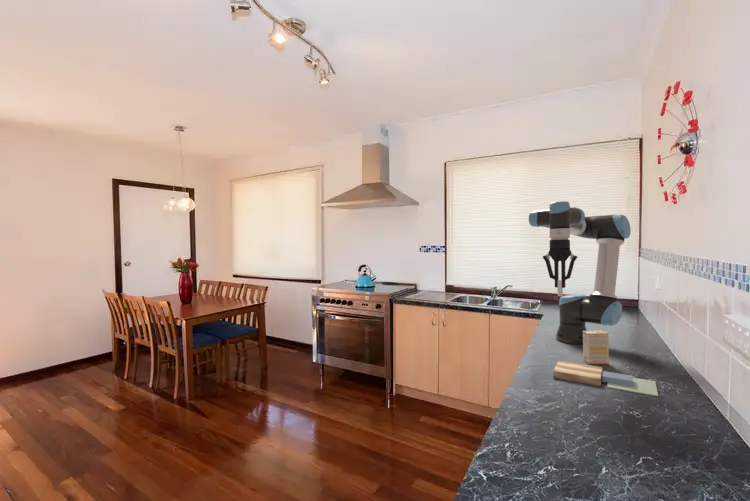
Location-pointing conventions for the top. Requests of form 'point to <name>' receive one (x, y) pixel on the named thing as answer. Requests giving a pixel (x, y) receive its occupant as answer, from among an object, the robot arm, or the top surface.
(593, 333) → the supplement box
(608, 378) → the blue rectangular block
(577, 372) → the board
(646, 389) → the mat
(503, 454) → the top surface
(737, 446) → the top surface
